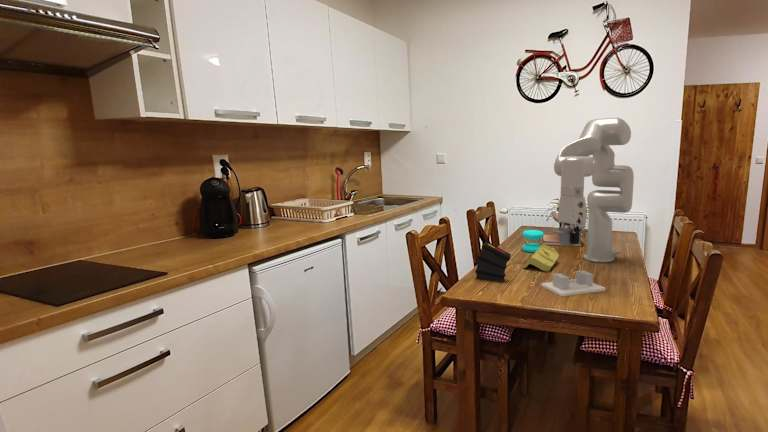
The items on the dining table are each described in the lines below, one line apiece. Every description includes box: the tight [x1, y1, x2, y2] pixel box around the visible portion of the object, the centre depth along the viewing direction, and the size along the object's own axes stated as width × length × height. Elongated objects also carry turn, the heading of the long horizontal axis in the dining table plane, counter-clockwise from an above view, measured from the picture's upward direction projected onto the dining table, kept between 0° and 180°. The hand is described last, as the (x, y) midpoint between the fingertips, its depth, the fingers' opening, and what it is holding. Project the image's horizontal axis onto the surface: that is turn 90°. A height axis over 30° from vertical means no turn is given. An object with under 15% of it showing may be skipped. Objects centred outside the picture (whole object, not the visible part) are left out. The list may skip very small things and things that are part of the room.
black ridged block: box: [474, 241, 512, 282], centre depth 165 cm, size 4×13×15 cm, turn 64°
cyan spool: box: [522, 229, 545, 254], centre depth 206 cm, size 10×10×10 cm
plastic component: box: [522, 244, 560, 272], centre depth 183 cm, size 20×7×10 cm
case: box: [540, 210, 585, 247], centre depth 223 cm, size 20×21×16 cm
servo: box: [553, 225, 588, 247], centre depth 150 cm, size 11×4×7 cm, turn 102°
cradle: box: [540, 270, 606, 297], centre depth 152 cm, size 18×12×5 cm, turn 103°
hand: (570, 241), depth 151 cm, fingers closed on servo, 4 cm apart
